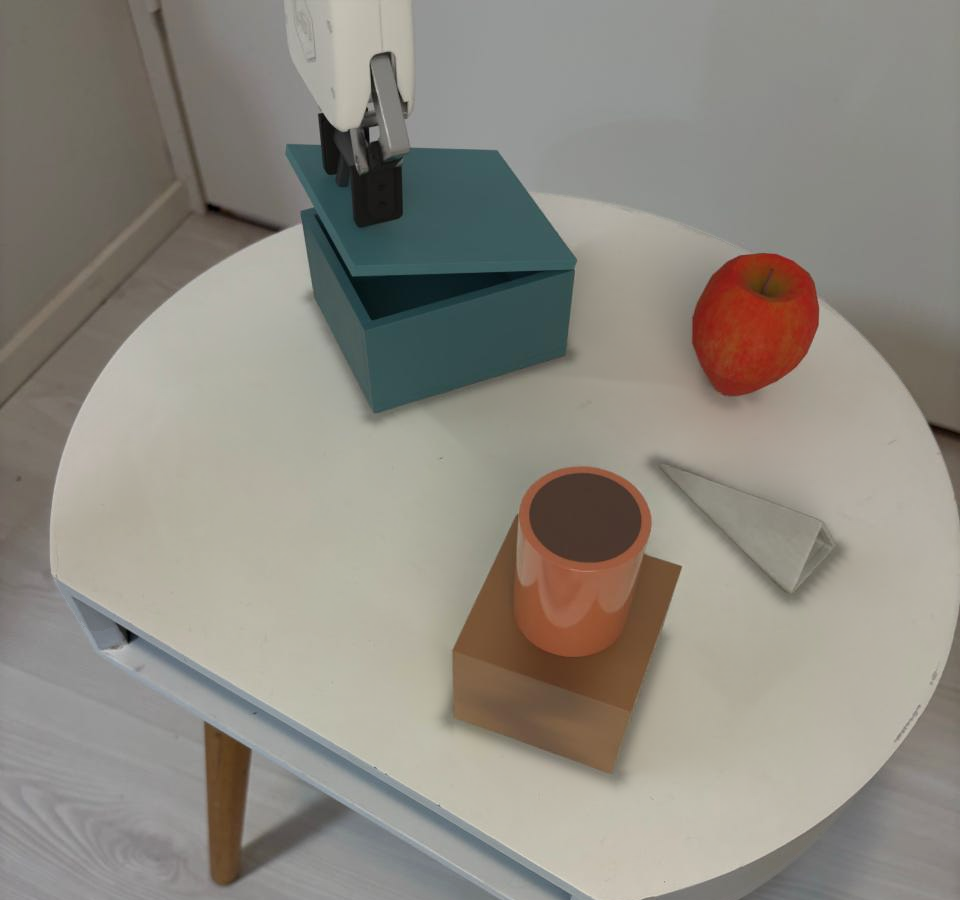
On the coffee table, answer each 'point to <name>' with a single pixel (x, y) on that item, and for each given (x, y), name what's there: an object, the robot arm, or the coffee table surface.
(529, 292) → the cool box
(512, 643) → the stand
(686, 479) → the grey triangular spike
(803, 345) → the apple
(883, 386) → the coffee table surface
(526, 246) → the cool box lid
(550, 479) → the cup
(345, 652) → the coffee table surface
